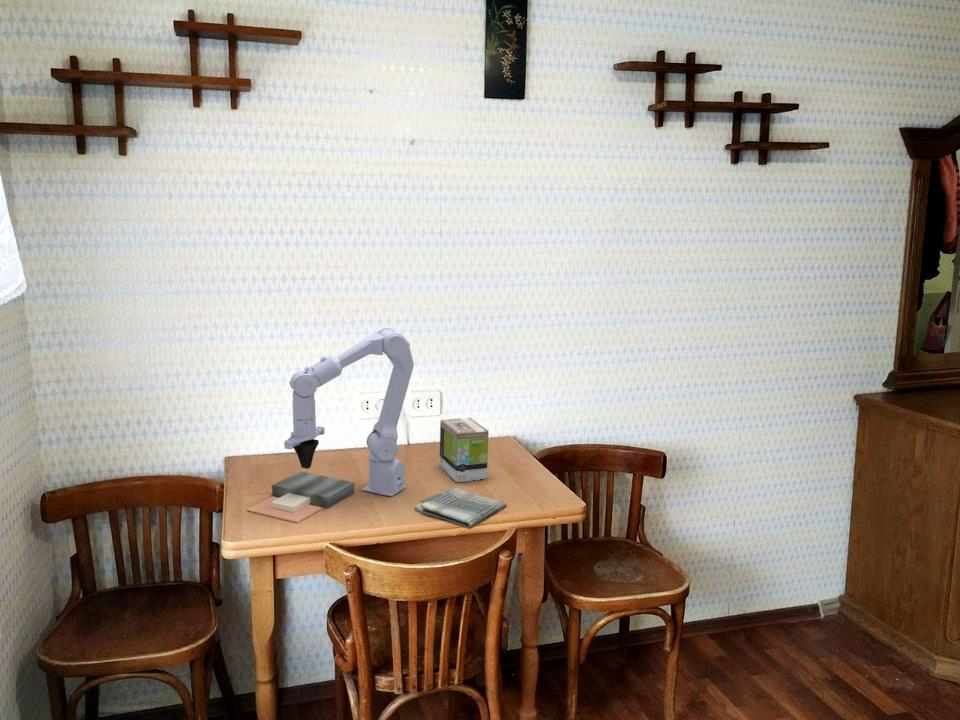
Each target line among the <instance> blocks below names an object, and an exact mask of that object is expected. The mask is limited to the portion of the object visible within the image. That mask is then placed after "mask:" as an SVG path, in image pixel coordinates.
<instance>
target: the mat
mask: <svg viewBox="0 0 960 720" xmlns="http://www.w3.org/2000/svg"><path fill="white" fill-rule="evenodd" d="M278 498H279V497H275V496H271V497H268V498H266V499H265V500H263V501H261V502H259V503H257V504H255V505H252V506H251V507H250V508H247V509H246V512H248V511H251V512H250V513H252V512H256V513H255V514H257V513H259V514H258V515H261V514H264V515H263V516H265V515H268V516H267V517H269V516H272V517H271V518H273V517H275V518H274V519H278V518H279V519H278V520H282V519H284V520H283V521H286V520H288V521H287V522H290V521H292V522H291V523H294V522H295V524H300V523H301V522H303V521H304V520H306V519H308V518H310V517H312V516H313V515H315V514H316V512H317V513H318V512H320V511H322V510H323V509H324V507H320V506H315V505H311V504H308V505H307V506H305V507H303V508H301V509H299V510H298V511H296V512H294V513H293V512H288V511H284V510H280V509H275V508H271V502H272V501H274V500H276V499H278ZM321 509H322V510H321ZM319 510H320V511H319ZM314 513H315V514H314ZM311 515H312V516H311ZM299 522H300V523H299Z"/></svg>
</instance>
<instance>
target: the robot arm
mask: <svg viewBox="0 0 960 720" xmlns="http://www.w3.org/2000/svg"><path fill="white" fill-rule="evenodd" d="M411 351H412V350H411V344H410V343H409V341H408V340H407V339H406V337H405V336H404V335H403V334H400V333H398V332H396V331H395V330H394V329H392V328H389V327H385V328H382V329H380V330H379V331H377V332H376V331H375V332H373V333H371V334H369V336H367V337H366V338H364V339H363V340H361V341H359V342H358V343H357V344H355V345H353V346H352V347H350V348H348V349H346V350H345V351H343V352H341V354H339V355H337V356H332V355H328V356H327V357H326V355H324V356H321V357H320V360H319V361H318V362H316V363H314V364H313V365H311V366H309V367H308V366H305V367H304V368H303V369H304V370H298V371H296V372H294V373H293V374H292V376H291V378H290V381H289V382H288V383H289V387H290V388H291V389H292V390H293V391H292V422H293V423H292V425H293V431H291V432H290V437H288V438H287V439H286V440H284V441H283V444H284V446H283V447H284V449H286V450H292V449H293V450H294V451H295V453H296V455H297V457H298V460H299V464H300V467H301V468H302V469H307V470H308V469H310V468H311V467H312V463H313V458H314V455H315V453H316V449H317V448H318V446H319V443H320V442H319V440H318V439H317V437H318V436H320V435H321V436H323V435H325V426H318V425H317V424H316V423H317V419H316V418H317V417H316V415H317V414H316V400H315V393H316V392H317V390H318V388H320V387H322V386H323V385H325V384H327V383H329V382H331V381H332V380H334V379H336V378H337V377H339V376H341V375H342V371H343V369H344V368H346V367H347V366H350V365H352V364H353V363H355V362H357V361H359V360H362V359H363V358H365V357H367V356H369V355H375V356H384V354H385V355H386V357H387V358H388V359H389V361H390V363H391V364H392V366H393V367H392V370H391V373H390V377H389V381H388V386H387V388H386V392H385V396H384V399H383V403H382V407H381V410H380V413H379V418H378V421H377V422H375V423H374V425H373V428H372V429H371V432H370V433H369V434H368V436H367V437H366V446H367V448H368V450H370V452H369V454H368V484H367V485H366V486H365V487H363V488H362V491H364V492H368V493H373V494H377V495H383V496H387V497H393V496H395V495H396V494H398V493H399V492H401V491H403V490H405V489H406V488H407V485H406V484H405V483H406V477H405V474H406V468H405V463H404V461H401V460H399V459H398V458H396V456H397V454H398V449H399V448H398V443H397V442H398V437H399V436H398V434H399V433H398V423H399V420H400V416H401V412H402V409H403V407H404V402H405V398H406V395H407V392H408V387H409V384H410V380H411V377H412V373H413V370H414V366H415V365H414V364H415V363H414V360H413V359H414V358H413V356H412V352H411Z"/></svg>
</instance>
